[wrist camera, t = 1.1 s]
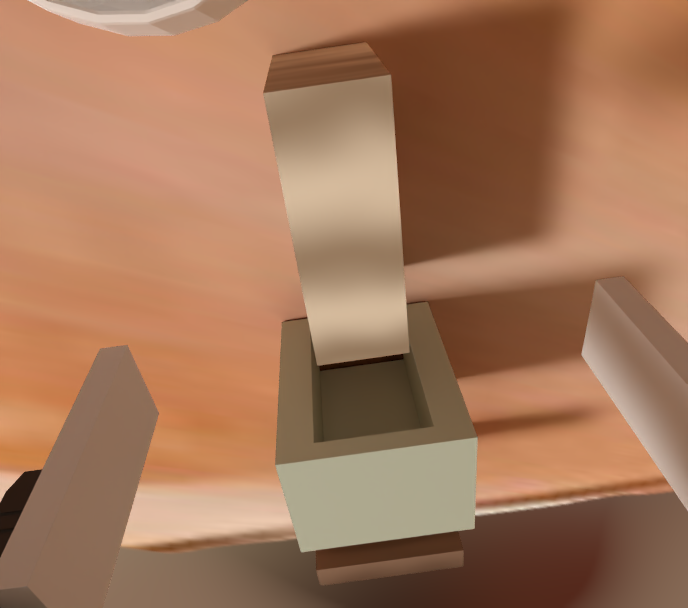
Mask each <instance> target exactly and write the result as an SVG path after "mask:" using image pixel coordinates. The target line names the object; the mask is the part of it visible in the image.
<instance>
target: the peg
mask: <svg viewBox="0 0 688 608" xmlns="http://www.w3.org/2000/svg"><path fill="white" fill-rule="evenodd" d="M263 95H264V100H265V105H266V110H267V115H268V120H269V125H270V130H271V135H272V141H273V146H274V151H275V156H276V161H277V166H278V171H279V176H280V181H281V186H282V191H283V196H284V201H285V206H286V211H287V216H288V221H289V226H290V231H291V236H292V241H293V246H294V251H295V256H296V261H297V266H298V271H299V277H300V282H301V287H302V292H303V297H304V302H305V307H306V312H307V317H308V322H309V327H310V332H311V337H312V342H313V347H314V352H315V357H316V362H317V366H319V365H326V364H333V363H340V362H347V361H354V360H361V359H368V358H376V357H383V356H390V355H397V354H404V353H410V352H409V337H408V322H407V307H406V292H405V277H404V262H403V247H402V232H401V217H400V201H399V186H398V171H397V156H396V141H395V126H394V111H393V96H392V81H391V74H390V73H389V71H388V70H387V69H386V67H385V66H384V65H383V63H382V62H381V61H380V59H379V58H378V57H377V55H376V54H375V53H374V51H373V50H372V49H371V47H370V46H369V45H368V43H367V42H363V43H356V44H349V45H342V46H335V47H328V48H322V49H315V50H308V51H301V52H294V53H287V54H280V55H274V56H272V60H271V64H270V68H269V72H268V76H267V80H266V84H265V88H264V92H263Z"/></svg>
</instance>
